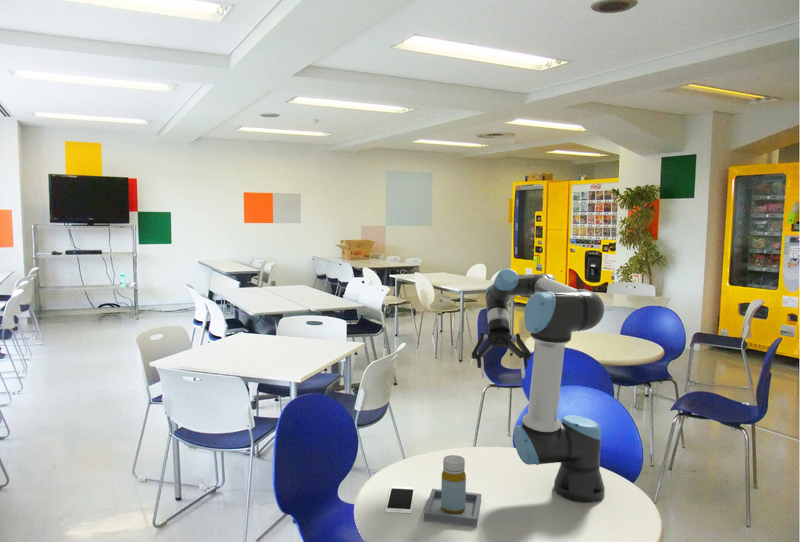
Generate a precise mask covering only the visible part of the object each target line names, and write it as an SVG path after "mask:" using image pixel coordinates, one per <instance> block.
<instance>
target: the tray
mask: <svg viewBox="0 0 800 542" xmlns="http://www.w3.org/2000/svg"><path fill="white" fill-rule="evenodd" d="M430 491H431V492H430V494H429V497H428V499H427V503H426V506H425V508H424V511H423V522H429V523H438V524H445V525H446V524H447V525H453V526H462V527H463V526H464V527H471V528H472V527H473V528H478V522H479V519H480V518H479V517H480V511H481V505H482V493H477V492H476V493H475V492H468V491H467V492H466V501H465V510H464V511H463V512H461V513H459V514H449V513H447V512H445V511H444V510H443V509H442V507H441V488H440V489H439V488H432V489H431V490H430Z"/></svg>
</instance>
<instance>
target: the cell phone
mask: <svg viewBox="0 0 800 542" xmlns="http://www.w3.org/2000/svg"><path fill="white" fill-rule="evenodd" d="M415 491H416V487H413V486H396V485H395V486H393V485H391V486H390V488H389V492H388V495H387V501H386V503H385V508H384V513H387V512H390V513H389V514H404V515H405V514H408V515H411V514H412V512H413V511H412V510H413V504H414V498H415Z"/></svg>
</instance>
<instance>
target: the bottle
mask: <svg viewBox="0 0 800 542" xmlns="http://www.w3.org/2000/svg"><path fill="white" fill-rule="evenodd" d="M465 462H466V461H465V458H464V457H462V456H460V455H454V454H451V455H446V456H444V457H443V462H442V463H443V464H442V465H443V468H442V469H443V470H442V472H441V488H440V490H441V507H442V509H443V510H444V511H445V512H447V513H449V514H459V513H461V512H463V511H464V510H465V501H466V491H467V488H466V487H467V475H466V472H465V467H466V466H465V465H466V464H465Z"/></svg>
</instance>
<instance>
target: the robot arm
mask: <svg viewBox="0 0 800 542" xmlns="http://www.w3.org/2000/svg"><path fill="white" fill-rule="evenodd" d="M514 296H515V297H516V296H517V297H518V296H522V297H523V296H530V297H529V298H528V300H527V302H526V305H525V307H524V312H523V313H524V314H523V320H524V326H525V328H526V330H527V332H529V333H530V334H529V335H530V337H531V338H532V340H534V347H533V356H532V353H531V352H530V350H529V348H528V347H527V346H526V345H525V343H524V341H523V340H522V339H521V334H520V333H518V332H517V333H516V334H513V335H512V334H511V328H510V323H509V322H510V319H509V311H508V310H509V307H508V303H509V301H510V298H511V297H514ZM485 305H486V315H487V328H488V329H487V330H488V334H485V333H484V332H480V335H479V339H478V341H477V343H476V345H475V347H474V349H473V351H472V352H471V359H472V360H474V359H475V360H476V363H477V364H476V365H477V369H480V377H481V379H484V377H485V367H484V365H485V364H484V356H486V355H487V353H488V352H489V351H490V350H492V348H493V347H495V348H505V347H506V348H507V349H509V350H510V351H512V353H514V354H515V355H516V356H517V357H518V358H519V359H520V361H519V363H520V372H521V374H520V375H521V379H523V380H524V379H525V378H526V370H527V369H528V360H529V361H530V360H531V359H532V370H531V380H530V389H529V400H528V409H527V410H528V412H527V413H526V414H524V415H523V417H522V422H521V425H520V424H518V425H516V426H515V428H514V429H513V441H514V446H515V449H516V452H517V455H518V457H519V459H520V460H521V462H523V464H525V465H531V466H533V465H536V466H539V465H545V464H555V463H556V464H557V463H558V464H559V463H560V466H559V468H558V470H557V473H556V477H555V479H554V482H553V484H554V485H553V486H554V488H553V489H554V491H555V493H556V494H557V495H559V496H561V497H562V498H564V499H566V500H569V501H573V502H577V503H586V504H587V503H595V502H599V501H601V500H603V499H604V497H605V493H606V492H605V489H606V488H605V484H604V480H603V477H602V474H601V471H600V464H601V463H600V462H601V443H602V442H601V440H602V430H601V429H602V428H601V426H600V425H599V423H597V422H596V421H594V420H592V419H591V418H587V417H584V416H580V415H574V414H573V415H572V414H571V415H570V414H569V415H568V414H567V415H564V416H562V417H561V420H560V419H559V418H558V412H559V403H560V394H561V393H560V392H561V386H562V385H561V383H562V376H563V375H562V374H563V366H564V357H565V356H564V355H565V348H566V345H567V344H568V343H569V342H571V340H572V333H573V332H584V331H588V330H591V329H593V328H594V327H596V326H597V325H598V324H599V323H600V322H601V320H602V319H603V317H604V314H605V305H604V302H603V300H602V298H601V297H600V296H599V295H598V294H597V293H595V292H593V291H590V290H588V289H585V288H583V289H581V288H579V289H577V288H574V287H572V286H569V285H566V284H564V283H561V282H559V281H556V279H555V277H554V275H553V274H548V273H547V274H546V273H540V274H539V273H535V274H534V273H533V274H523V273H522V274H519V273H517V272H516V271H515V270H514V269H510V268H504V269H501V270H500V271H499V272H498V273H497V274H496V276H495V279H494V282H493V284H491V285H490V286H489V287H487V288H486V289H485ZM486 339H487V340H488V343H487V344H486V345H485V346H484V347H483V348H482V346H483V344H484V343H483V342H485V341H486ZM512 340H513V341H514V342H515V343H516V344H514V343H513V341H512ZM481 348H482V349H481ZM480 349H481V350H480ZM478 352H479V353H478Z"/></svg>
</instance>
